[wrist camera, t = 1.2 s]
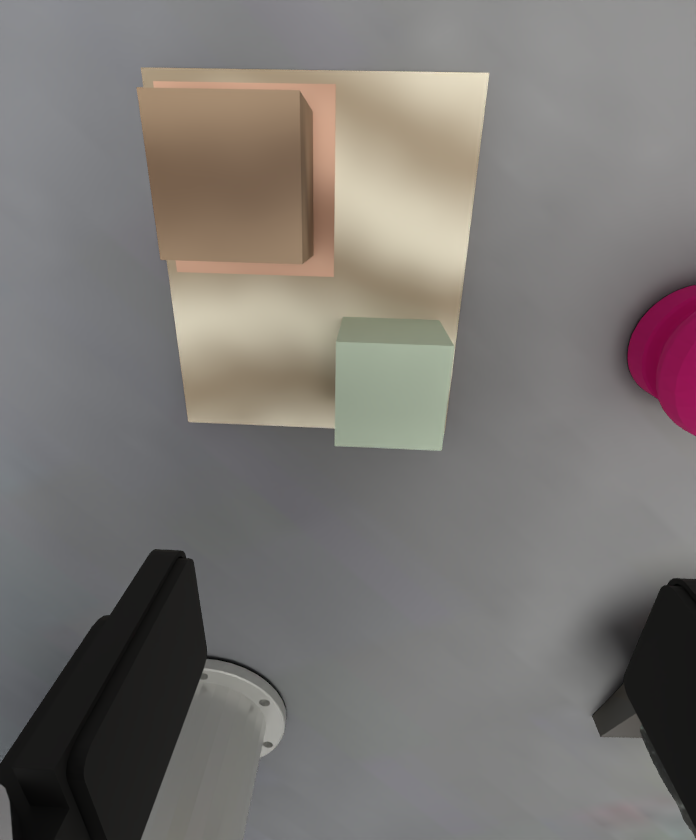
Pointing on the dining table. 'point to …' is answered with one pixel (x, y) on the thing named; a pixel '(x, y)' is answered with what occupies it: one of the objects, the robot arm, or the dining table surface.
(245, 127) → the walnut base block
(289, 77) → the cream wavy board
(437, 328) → the sage block
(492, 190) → the dining table surface
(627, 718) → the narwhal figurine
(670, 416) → the pepper mill
